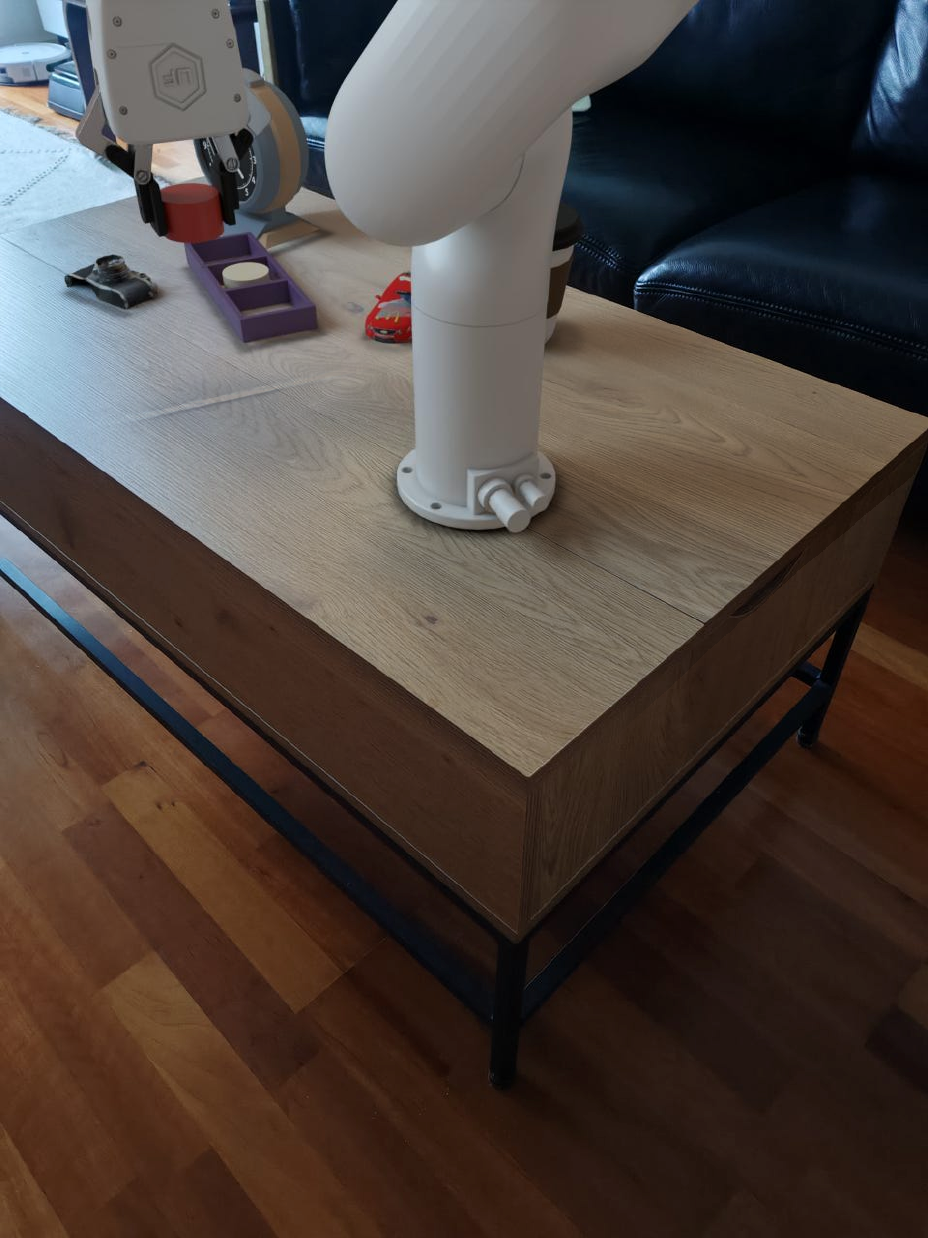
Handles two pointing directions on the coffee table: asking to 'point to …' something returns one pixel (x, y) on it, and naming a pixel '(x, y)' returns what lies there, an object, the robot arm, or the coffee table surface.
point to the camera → (115, 282)
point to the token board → (251, 288)
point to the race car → (392, 313)
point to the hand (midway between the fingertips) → (192, 222)
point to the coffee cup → (561, 260)
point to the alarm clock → (268, 170)
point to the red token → (192, 212)
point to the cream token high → (245, 274)
